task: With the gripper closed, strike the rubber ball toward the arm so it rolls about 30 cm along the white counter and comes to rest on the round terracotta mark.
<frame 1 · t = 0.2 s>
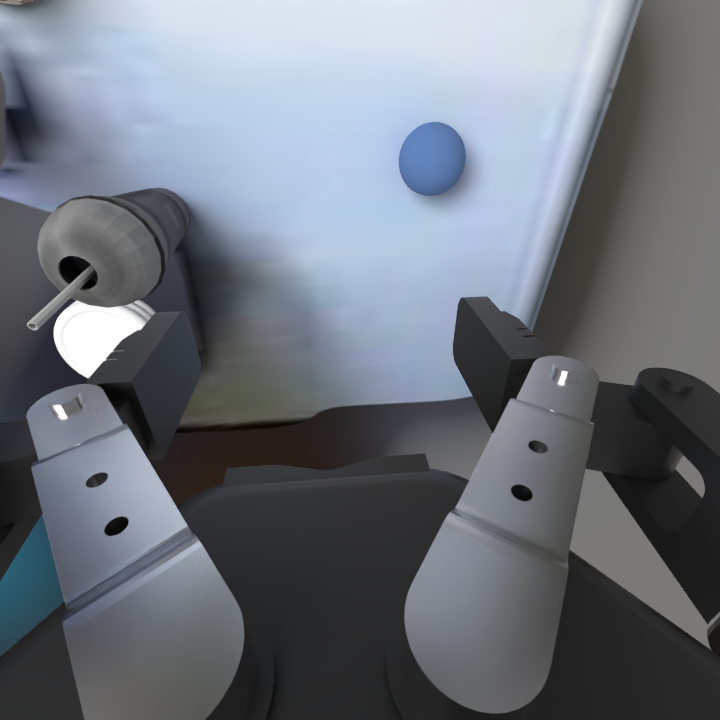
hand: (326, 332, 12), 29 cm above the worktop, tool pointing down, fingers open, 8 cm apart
beverage cup: (165, 213, 36), on the worktop
ball: (431, 160, 33), on the worktop
coaster: (122, 331, 43), on the worktop
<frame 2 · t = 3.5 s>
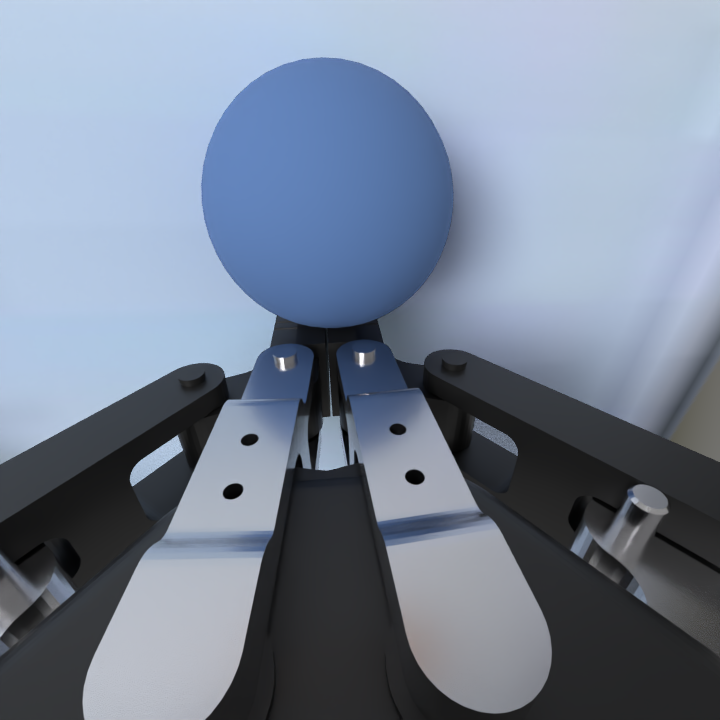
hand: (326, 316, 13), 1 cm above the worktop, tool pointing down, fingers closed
ball: (330, 208, 9), on the worktop, touching gripper
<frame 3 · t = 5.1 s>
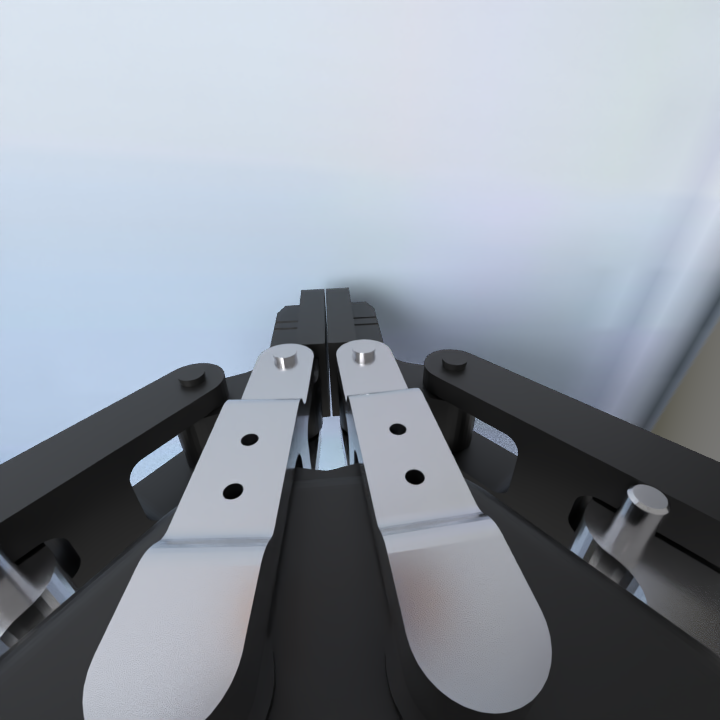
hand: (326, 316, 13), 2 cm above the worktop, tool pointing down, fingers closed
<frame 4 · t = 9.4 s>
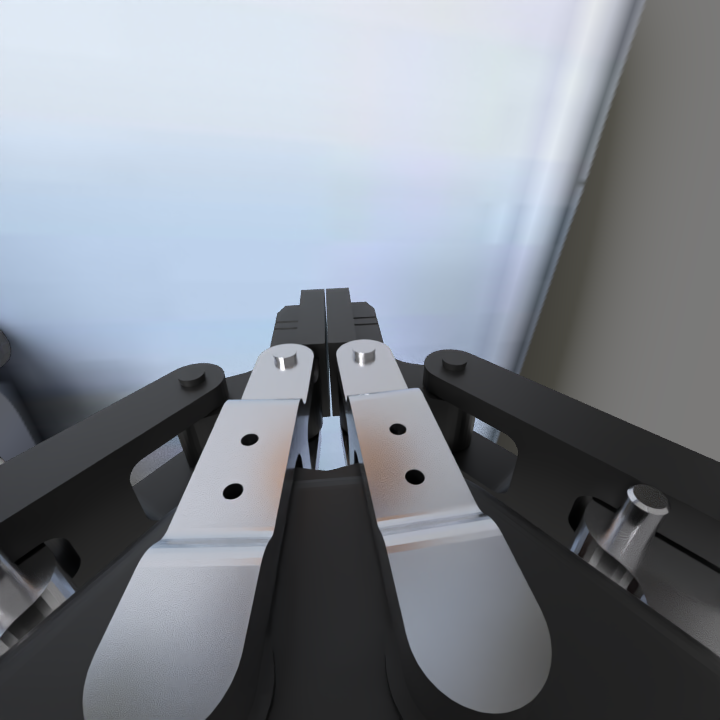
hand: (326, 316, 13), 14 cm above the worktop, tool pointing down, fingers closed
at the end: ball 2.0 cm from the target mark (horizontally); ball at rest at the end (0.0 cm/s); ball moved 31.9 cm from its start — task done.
